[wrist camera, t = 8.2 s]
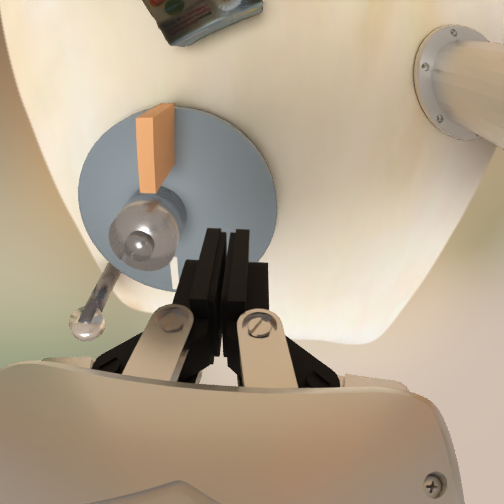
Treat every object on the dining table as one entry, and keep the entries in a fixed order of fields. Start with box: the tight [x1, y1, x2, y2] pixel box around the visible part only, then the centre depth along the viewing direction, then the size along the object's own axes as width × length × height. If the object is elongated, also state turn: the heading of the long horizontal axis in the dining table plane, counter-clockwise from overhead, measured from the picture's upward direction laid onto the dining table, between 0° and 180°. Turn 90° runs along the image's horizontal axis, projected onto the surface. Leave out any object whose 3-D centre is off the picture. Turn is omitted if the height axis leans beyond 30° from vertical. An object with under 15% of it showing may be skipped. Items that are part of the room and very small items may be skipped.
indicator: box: [69, 262, 121, 341], centre depth 33 cm, size 4×2×12 cm, turn 86°
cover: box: [108, 186, 187, 271], centre depth 27 cm, size 6×6×6 cm
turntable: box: [78, 103, 277, 292], centre depth 27 cm, size 20×20×8 cm
